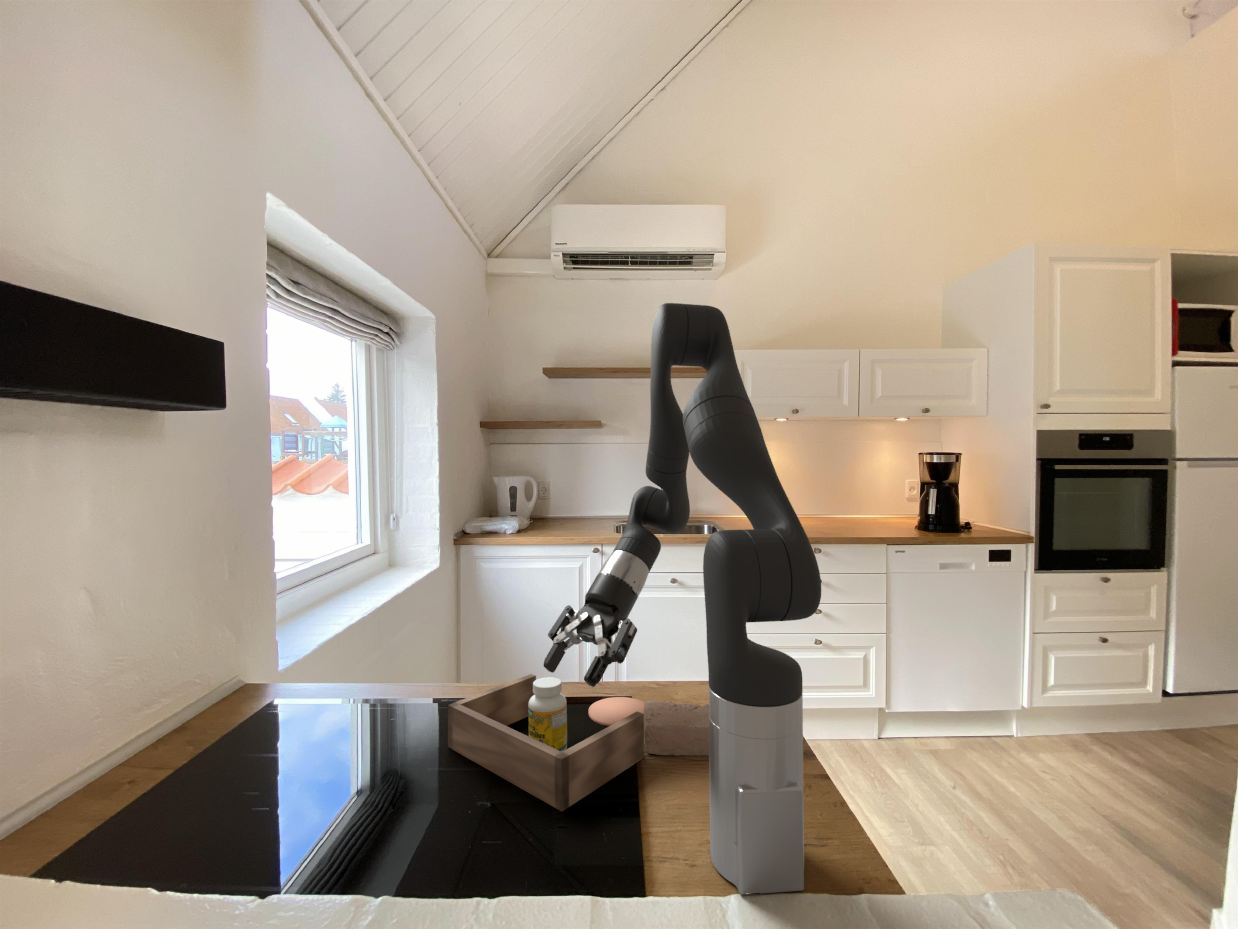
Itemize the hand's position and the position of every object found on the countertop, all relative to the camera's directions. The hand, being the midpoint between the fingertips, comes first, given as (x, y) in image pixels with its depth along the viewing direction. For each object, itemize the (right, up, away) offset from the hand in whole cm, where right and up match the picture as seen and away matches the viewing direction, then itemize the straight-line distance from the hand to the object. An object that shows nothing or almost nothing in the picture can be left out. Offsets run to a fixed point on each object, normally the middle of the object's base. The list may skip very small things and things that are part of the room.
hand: (567, 676), depth 81 cm
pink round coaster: (+8, -9, +9) cm, 15 cm away
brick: (+19, -10, -1) cm, 22 cm away
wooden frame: (-3, -9, -3) cm, 10 cm away
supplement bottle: (-3, -9, -3) cm, 10 cm away
